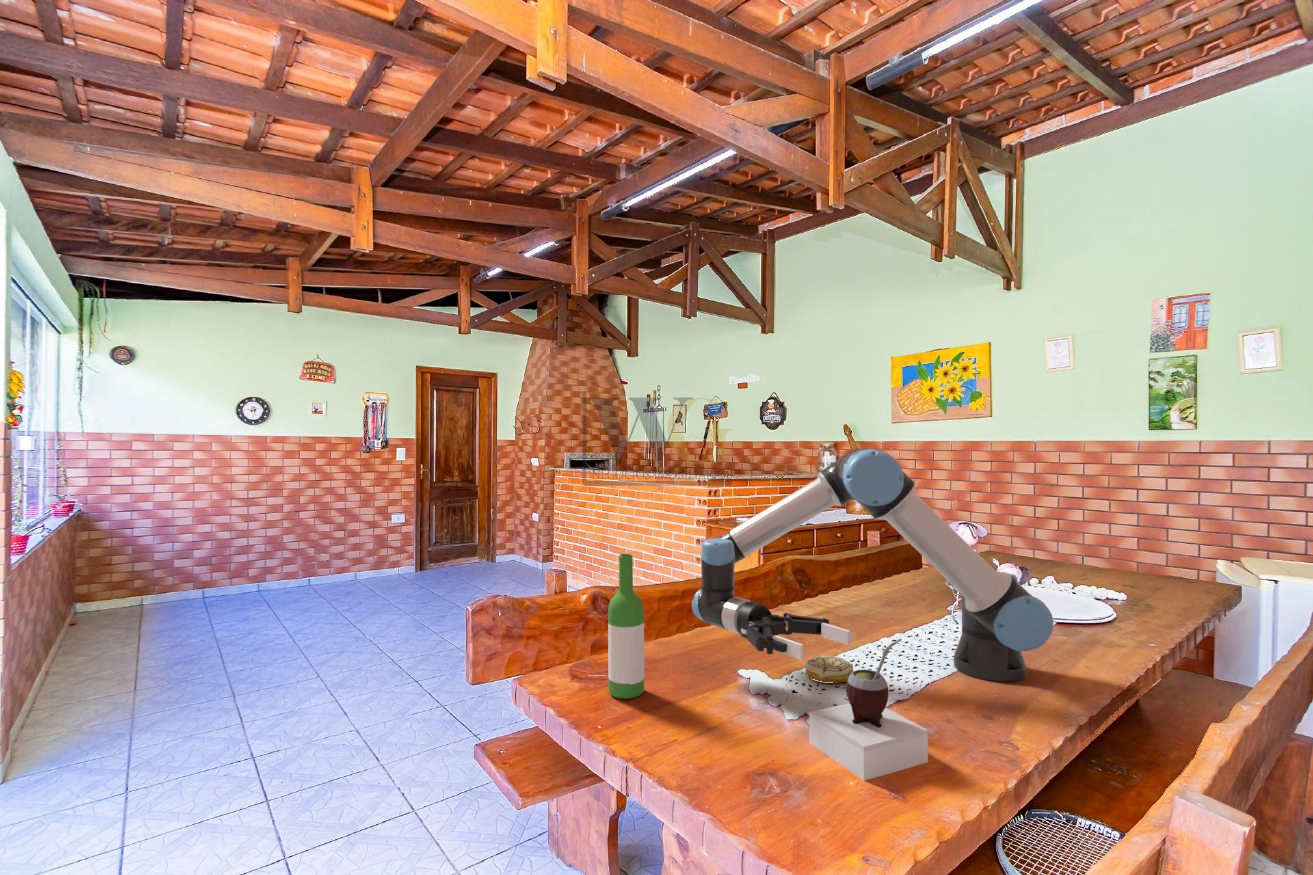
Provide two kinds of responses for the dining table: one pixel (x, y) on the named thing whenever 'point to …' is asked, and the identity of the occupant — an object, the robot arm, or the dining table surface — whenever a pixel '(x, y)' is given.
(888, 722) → the storage box
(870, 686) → the mate gourd
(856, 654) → the dining table surface
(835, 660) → the decorated donut
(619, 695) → the wine bottle
